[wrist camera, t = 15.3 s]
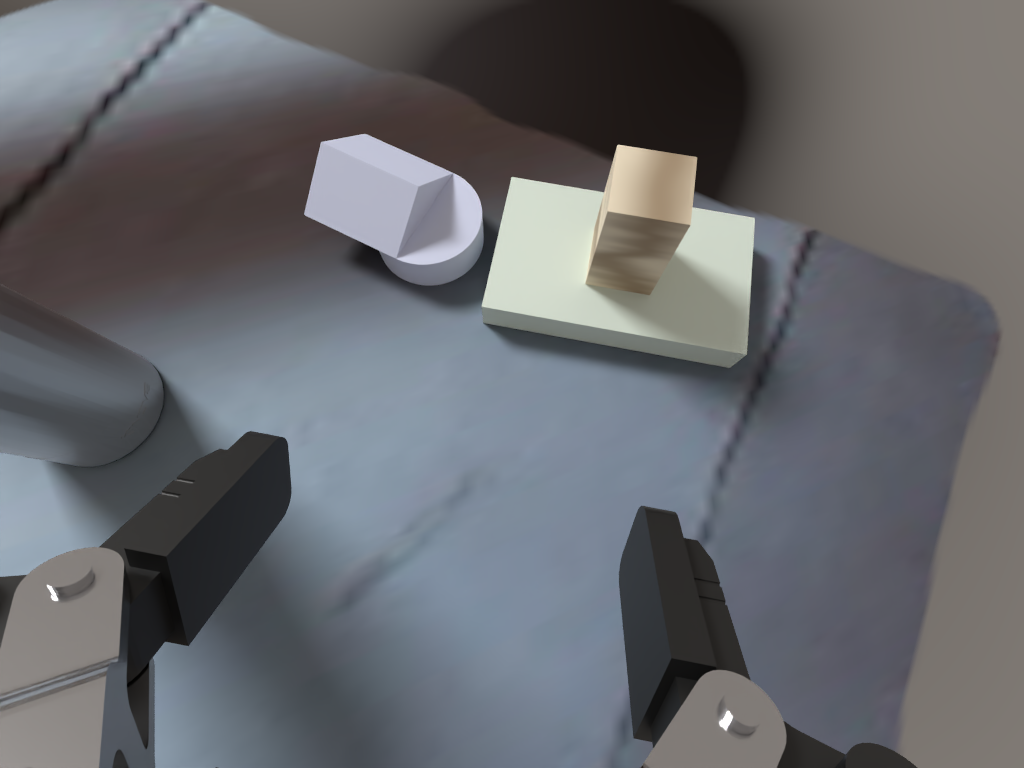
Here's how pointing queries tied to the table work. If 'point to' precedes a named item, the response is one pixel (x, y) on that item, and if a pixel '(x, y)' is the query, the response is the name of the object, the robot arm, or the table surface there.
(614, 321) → the sage board
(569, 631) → the table surface
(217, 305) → the table surface
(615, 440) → the table surface
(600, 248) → the birch block
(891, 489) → the table surface
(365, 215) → the wedge on round base
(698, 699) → the robot arm
